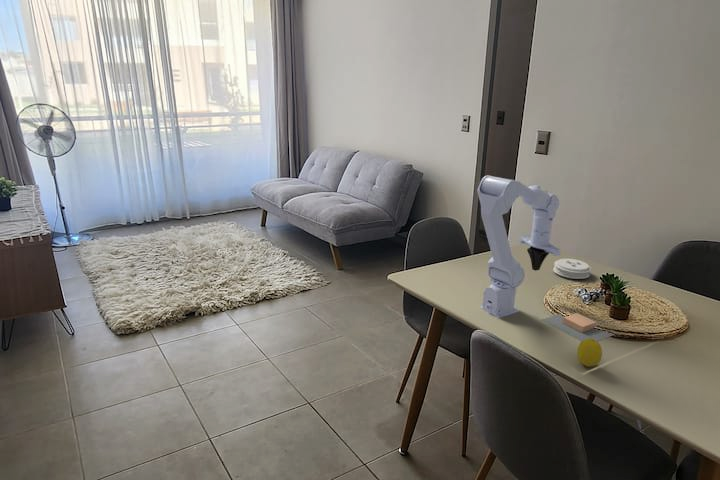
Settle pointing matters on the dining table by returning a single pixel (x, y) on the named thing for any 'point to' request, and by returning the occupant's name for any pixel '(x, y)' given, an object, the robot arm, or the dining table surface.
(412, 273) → the dining table surface
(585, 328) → the tile
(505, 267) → the robot arm
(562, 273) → the lid
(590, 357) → the lemon
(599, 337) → the mat
